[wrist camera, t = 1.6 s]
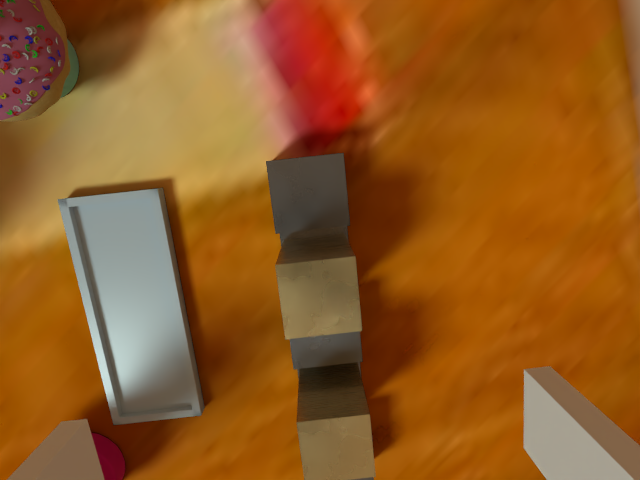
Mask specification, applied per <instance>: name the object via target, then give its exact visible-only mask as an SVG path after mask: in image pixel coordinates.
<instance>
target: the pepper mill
mask: <svg viewBox="0 0 640 480" xmlns="http://www.w3.org/2000/svg"><path fill="white" fill-rule="evenodd" d="M91 434H92V438H93V441H94V445H95V448H96V452H97V455H98V459H99V462H100V466H101V469H102V473H103V476H104V479H105V480H122V479H123V477H124V473H125V460H124V457H123V454H122V452H121V451H120V450H119V448H118V447H117V445H116V444H114V443H113V442H112V441H111V440H109V439H108V438H106V437H104V436H102V435H100V434H96V433H91Z"/></svg>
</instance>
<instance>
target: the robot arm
mask: <svg viewBox="0 0 640 480" xmlns="http://www.w3.org/2000/svg"><path fill="white" fill-rule="evenodd" d="M524 449H525V450H526V452H527V453H528V455H529V456H530V457H531V459H532V460H533V461H534V463H535V464H536V466H537V467H538V468H539V470H540V471H541V472H542V474H543V475H544V477H545V478H546V479H547V480H640V445H638V444H637V443H636V442H635V441H634V440H633V439H632V438H631V437H629V436H628V435H627V434H626V433H625V432H624V431H623V430H621V429H620V428H619V427H618V426H617V425H616V424H615V423H614V422H612V421H611V420H610V419H609V418H608V417H607V416H606V415H604V414H603V413H602V412H601V411H600V410H599V409H598V408H597V407H595V406H594V405H593V404H592V403H591V402H590V401H589V400H587V399H586V398H585V397H584V396H583V395H582V394H581V393H580V392H578V391H577V390H576V389H575V388H574V387H573V386H572V385H570V384H569V383H568V382H567V381H566V380H565V379H564V378H563V377H561V376H560V375H559V374H558V373H557V372H556V371H555V370H553V369H552V368H551V367H550V366H549V367H540V368H531V369H524ZM7 480H105V479H104V476H103V473H102V469H101V466H100V462H99V459H98V455H97V452H96V448H95V445H94V441H93V438H92V434H91V431H90V427H89V424H88V420H87V419H81V420H73V421H64V422H61V423H60V424H59V425H58V426H57V427H56V428H55V429H54V430H53V431H52V433H51V434H50V435H49V436H48V437H47V438H46V439H45V440H44V441H43V442H42V443H41V444H40V445H39V446H38V447H37V448H36V449H35V451H34V452H33V453H32V454H31V455H30V456H29V457H28V458H27V459H26V460H25V461H24V462H23V463H22V464H21V465H20V466H19V467H18V469H17V470H16V471H15V472H14V473H13V474H12V475H11V476H10V477H9V478H8V479H7Z"/></svg>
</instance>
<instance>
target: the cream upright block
mask: <svg viewBox="0 0 640 480" xmlns="http://www.w3.org/2000/svg"><path fill="white" fill-rule="evenodd" d="M297 429H298V436H299V443H300V451H301V458H302V465H303V473H304V480H351V479H360V478H369V477H376V476H375V465H374V454H373V443H372V432H371V421H370V413H369V408H368V404H367V400H366V396H365V392H364V387H363V383H362V379H361V375H360V371H359V366H358V362H356V363H347V364H338V365H329V366H320V367H311V368H302V369H299V388H298V407H297Z"/></svg>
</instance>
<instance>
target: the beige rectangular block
mask: <svg viewBox="0 0 640 480" xmlns="http://www.w3.org/2000/svg"><path fill="white" fill-rule="evenodd" d="M275 267H276V274H277V281H278V289H279V296H280V304H281V311H282V318H283V326H284V333H285V339H294V338H303V337H312V336H321V335H330V334H339V333H348V332H357V331H362V322H361V311H360V300H359V289H358V278H357V267H356V256H355V254H354V252H353V250H352V248H351V246H350V244H349V242H348V240H347V238H346V236H345V234H335V235H326V236H317V237H308V238H299V239H290V240H284V242H283V244H282V247H281V250H280V253H279V256H278V259H277V262H276V264H275Z"/></svg>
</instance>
